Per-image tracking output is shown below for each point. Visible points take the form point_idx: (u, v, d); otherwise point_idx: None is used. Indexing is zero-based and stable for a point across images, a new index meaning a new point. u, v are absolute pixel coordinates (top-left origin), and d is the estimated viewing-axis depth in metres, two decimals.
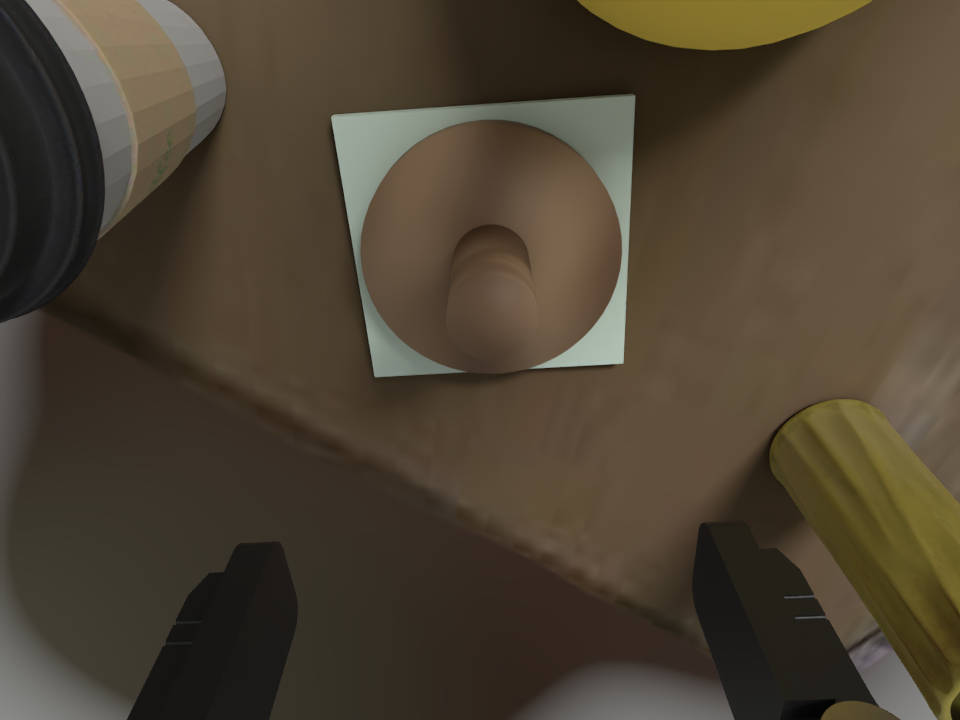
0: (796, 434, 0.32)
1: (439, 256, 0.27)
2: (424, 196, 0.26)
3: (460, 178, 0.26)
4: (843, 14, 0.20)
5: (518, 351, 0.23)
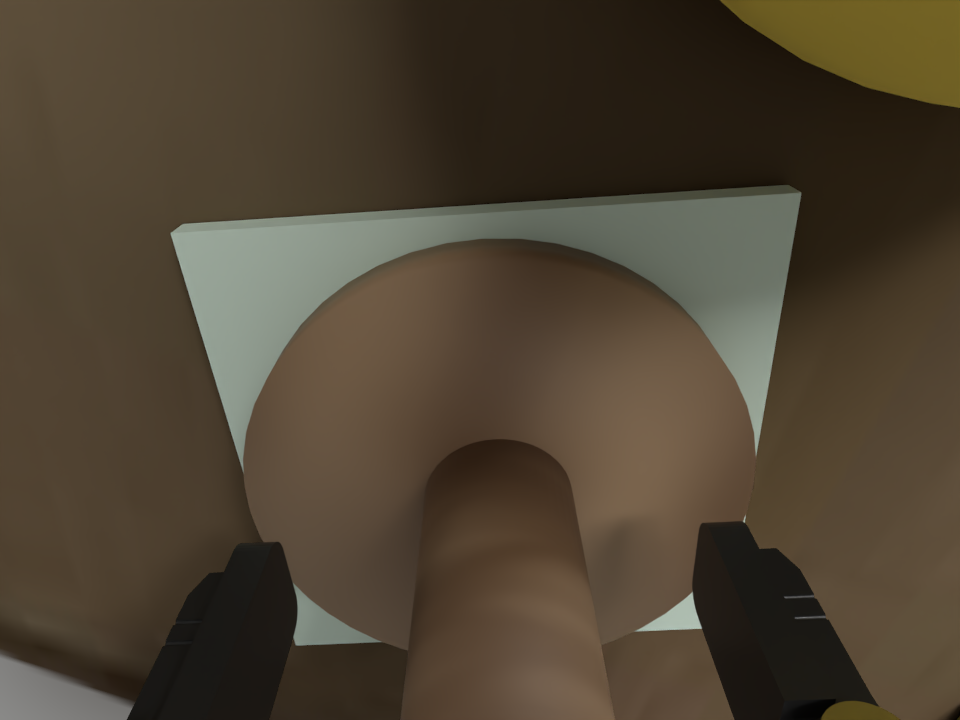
0: None
1: (398, 491, 0.14)
2: (364, 392, 0.13)
3: (437, 358, 0.13)
4: None
5: None
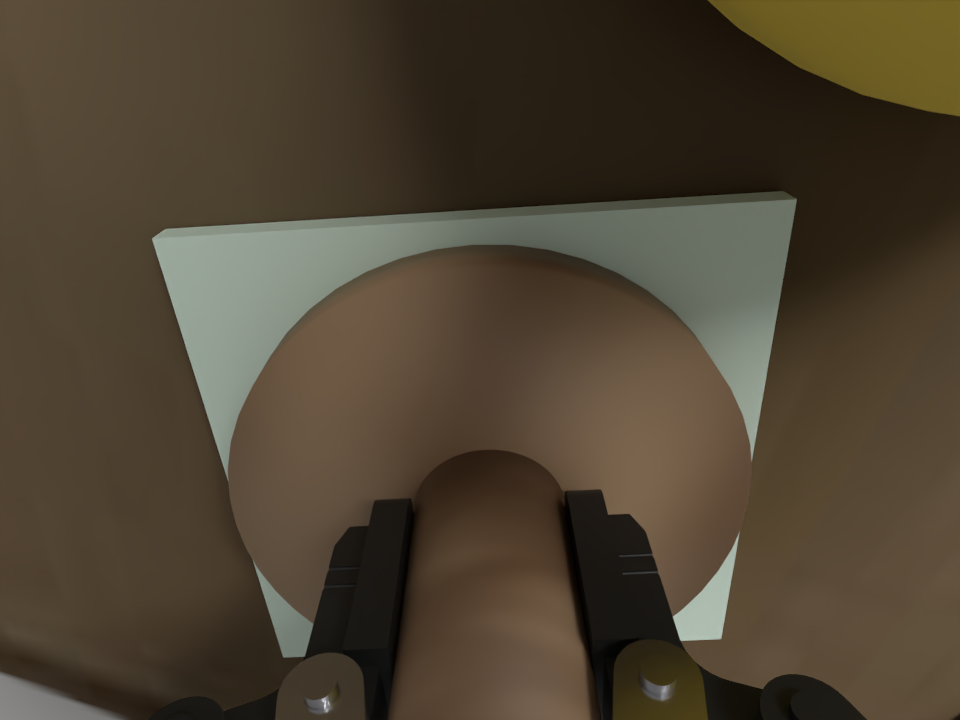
0: None
1: None
2: (352, 401, 0.13)
3: (426, 367, 0.12)
4: None
5: None
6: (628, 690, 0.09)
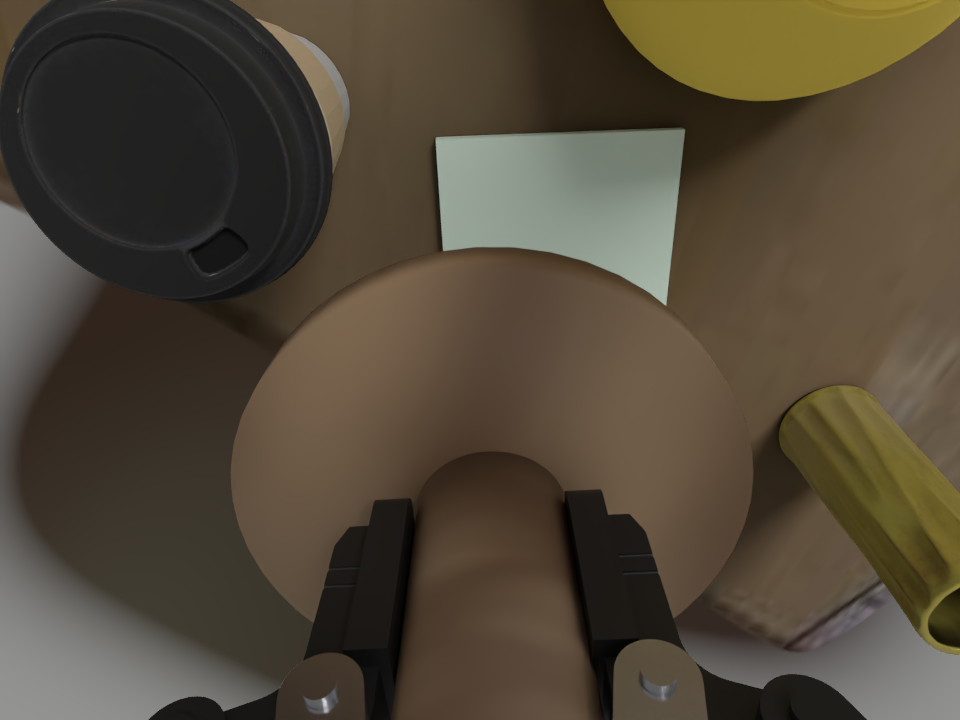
0: (803, 414, 0.38)
1: None
2: (354, 403, 0.13)
3: (429, 370, 0.12)
4: (857, 80, 0.26)
5: None
6: (629, 690, 0.09)
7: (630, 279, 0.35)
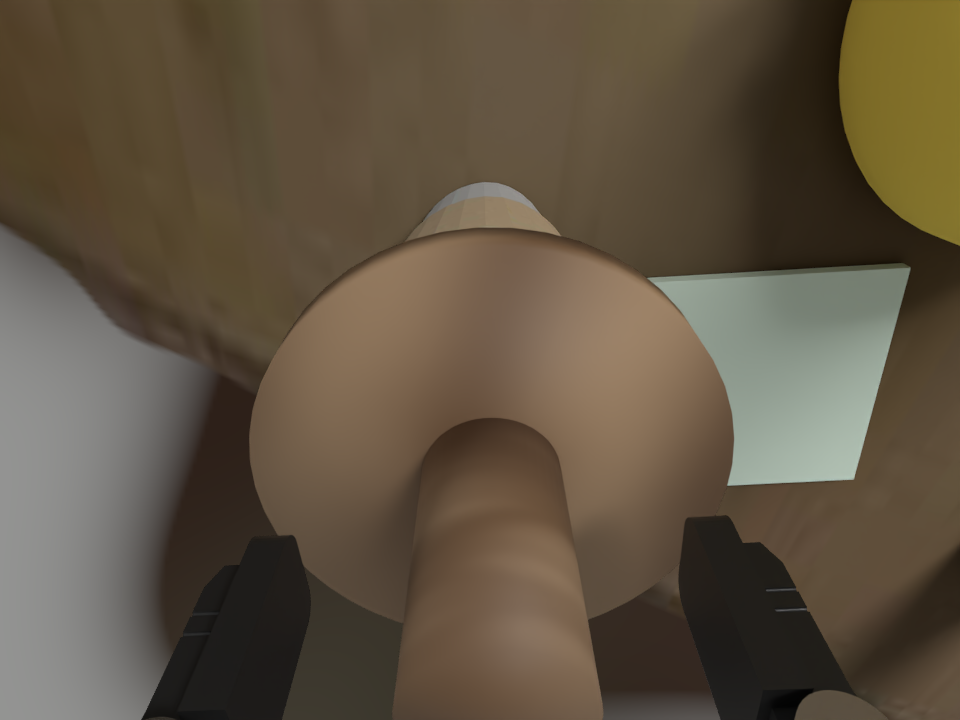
0: None
1: (396, 468, 0.15)
2: (364, 372, 0.14)
3: (434, 340, 0.13)
4: None
5: None
6: None
7: (830, 412, 0.33)
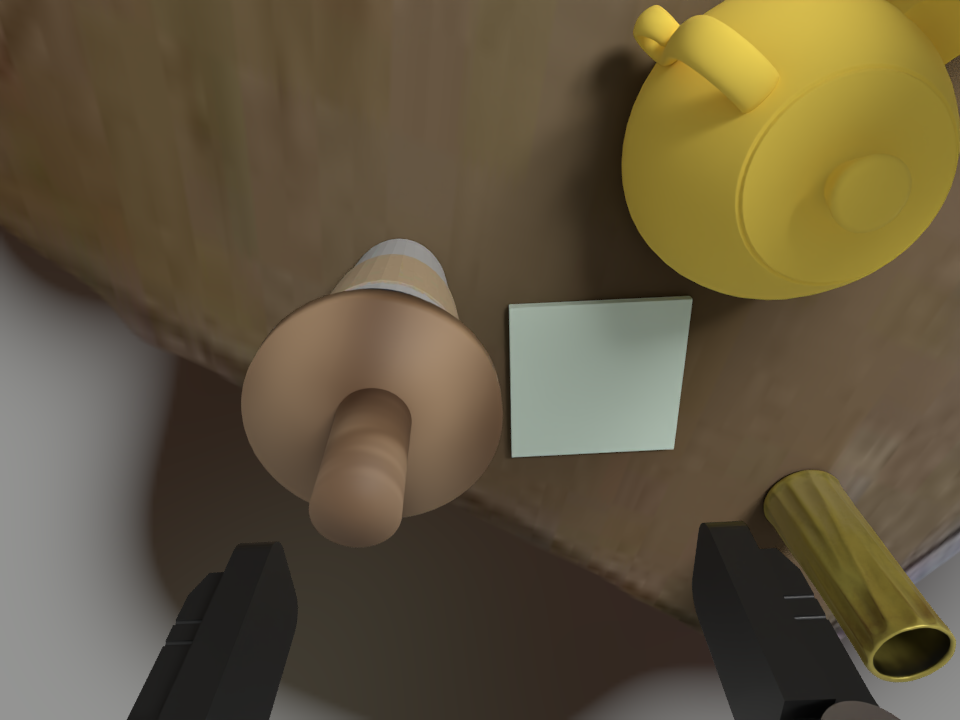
0: (782, 493, 0.50)
1: (321, 415, 0.27)
2: (303, 363, 0.26)
3: (338, 347, 0.26)
4: None
5: (384, 538, 0.23)
6: None
7: (651, 399, 0.46)
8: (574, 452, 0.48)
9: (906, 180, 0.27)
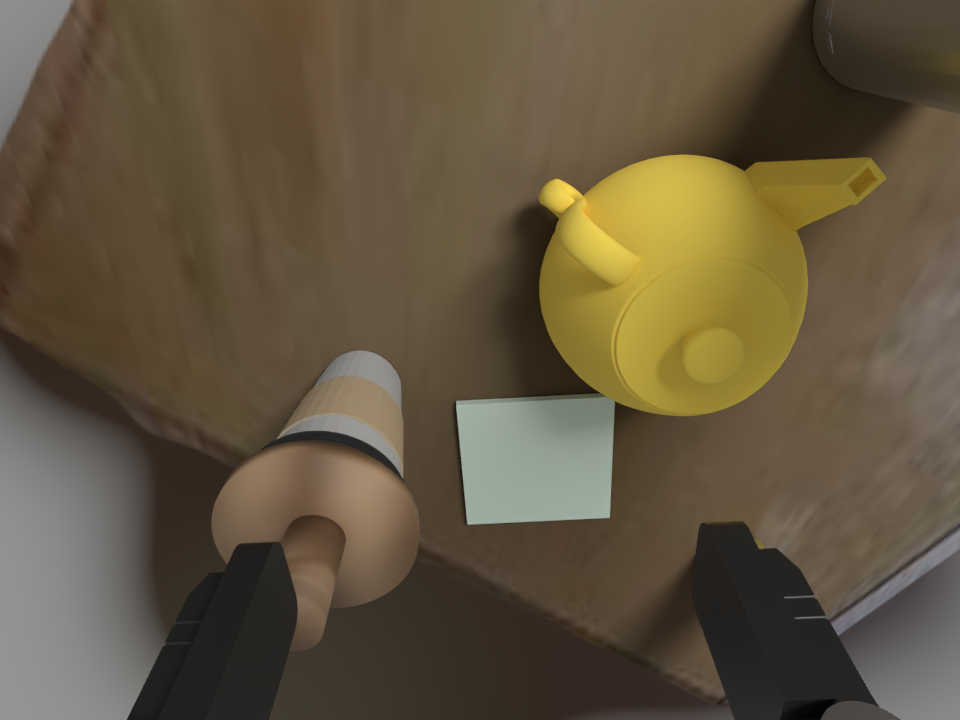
0: None
1: (274, 534, 0.35)
2: (257, 498, 0.34)
3: (283, 486, 0.33)
4: None
5: (312, 644, 0.31)
6: None
7: (586, 477, 0.53)
8: (522, 520, 0.55)
9: (740, 347, 0.34)
